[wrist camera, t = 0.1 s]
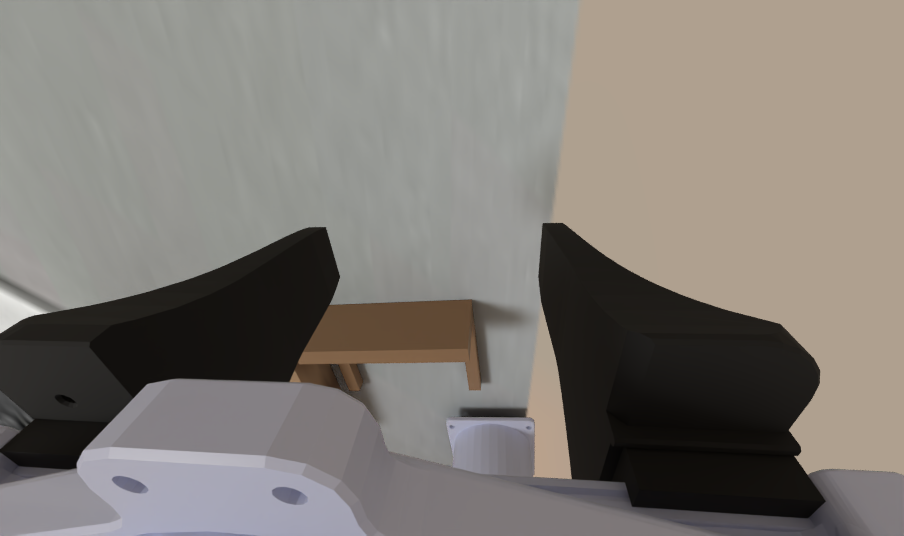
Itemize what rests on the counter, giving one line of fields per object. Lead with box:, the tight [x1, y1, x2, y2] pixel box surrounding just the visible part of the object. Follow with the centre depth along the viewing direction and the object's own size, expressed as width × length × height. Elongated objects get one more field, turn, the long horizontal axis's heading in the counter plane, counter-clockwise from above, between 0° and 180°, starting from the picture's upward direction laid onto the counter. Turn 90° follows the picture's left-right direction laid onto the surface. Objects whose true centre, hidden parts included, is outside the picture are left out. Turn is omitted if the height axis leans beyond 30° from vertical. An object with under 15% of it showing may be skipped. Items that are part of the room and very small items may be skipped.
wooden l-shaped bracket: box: [298, 300, 481, 391], centre depth 28 cm, size 9×12×5 cm
